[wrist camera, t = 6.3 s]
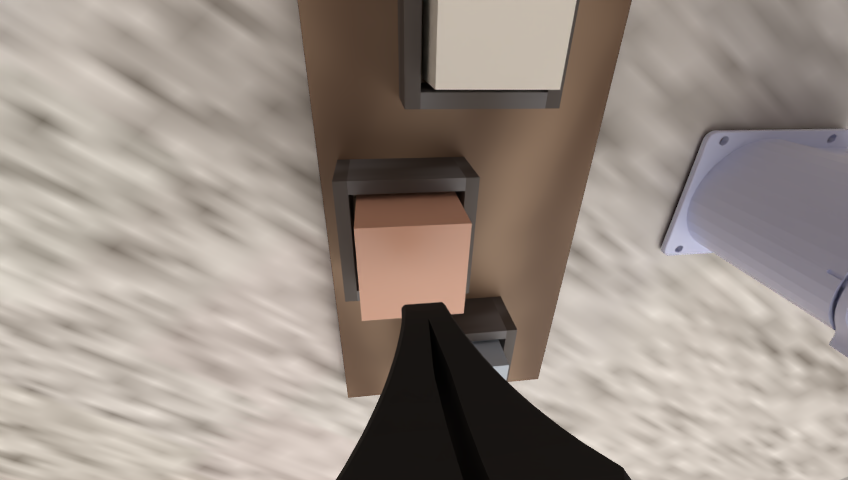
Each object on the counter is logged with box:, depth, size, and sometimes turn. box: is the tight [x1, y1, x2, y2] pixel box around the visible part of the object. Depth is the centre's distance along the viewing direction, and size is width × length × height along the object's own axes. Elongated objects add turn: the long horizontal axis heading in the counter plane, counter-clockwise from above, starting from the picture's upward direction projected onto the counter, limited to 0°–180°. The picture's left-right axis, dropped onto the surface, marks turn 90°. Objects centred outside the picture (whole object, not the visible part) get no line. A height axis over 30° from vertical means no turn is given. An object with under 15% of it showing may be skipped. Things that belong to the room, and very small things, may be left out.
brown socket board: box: [298, 0, 632, 398], centre depth 19 cm, size 14×28×4 cm, turn 179°
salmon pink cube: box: [354, 191, 472, 321], centre depth 16 cm, size 4×4×4 cm
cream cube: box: [422, 0, 577, 90], centre depth 13 cm, size 4×4×4 cm
